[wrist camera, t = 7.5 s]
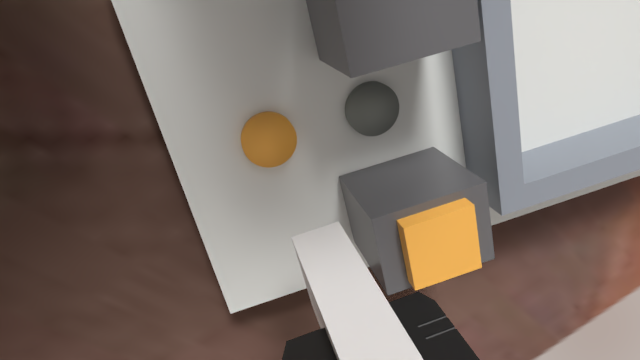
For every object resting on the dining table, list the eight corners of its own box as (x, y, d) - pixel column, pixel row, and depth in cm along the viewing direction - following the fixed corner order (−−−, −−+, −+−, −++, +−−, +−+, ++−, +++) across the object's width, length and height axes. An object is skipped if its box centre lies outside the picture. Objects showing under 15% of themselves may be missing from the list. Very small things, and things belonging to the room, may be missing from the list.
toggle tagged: (354, 241, 21) (394, 305, 16) (338, 176, 19) (377, 228, 15) (443, 212, 21) (504, 267, 17) (433, 146, 20) (496, 188, 16)
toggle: (319, 59, 18) (351, 78, 14) (299, -30, 16) (327, -36, 13) (424, 30, 18) (481, 40, 14) (411, -59, 17) (469, -72, 13)
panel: (227, 287, 22) (231, 319, 20) (103, -47, 17) (89, -52, 15) (671, 140, 25) (716, 154, 23) (689, -189, 20) (751, -211, 17)
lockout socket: (469, 191, 21) (501, 215, 19) (428, -132, 16) (466, -152, 14) (712, 112, 23) (770, 125, 20) (740, -207, 18) (819, -236, 16)
